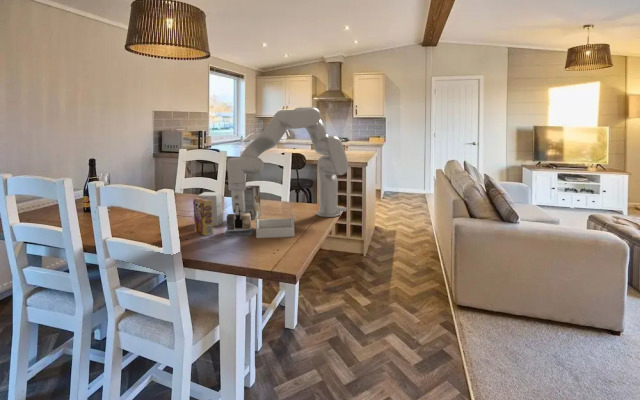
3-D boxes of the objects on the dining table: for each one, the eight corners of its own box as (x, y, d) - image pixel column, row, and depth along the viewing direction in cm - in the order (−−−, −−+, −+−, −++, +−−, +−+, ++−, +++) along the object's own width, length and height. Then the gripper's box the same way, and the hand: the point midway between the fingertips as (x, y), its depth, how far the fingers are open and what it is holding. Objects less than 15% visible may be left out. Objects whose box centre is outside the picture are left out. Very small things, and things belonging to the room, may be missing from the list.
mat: (253, 228, 178) (253, 227, 178) (252, 235, 168) (252, 234, 168) (226, 229, 176) (226, 228, 176) (224, 236, 167) (224, 235, 167)
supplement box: (199, 226, 183) (197, 195, 180) (205, 221, 192) (203, 191, 188) (218, 226, 182) (216, 195, 179) (223, 221, 191) (222, 191, 188)
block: (250, 226, 175) (250, 213, 174) (250, 229, 170) (249, 215, 169) (228, 226, 174) (227, 214, 172) (227, 230, 169) (226, 216, 168)
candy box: (213, 234, 170) (211, 200, 167) (205, 236, 167) (202, 201, 164) (203, 230, 176) (201, 197, 173) (194, 232, 173) (192, 199, 170)
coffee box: (249, 214, 204) (248, 185, 201) (261, 215, 203) (260, 185, 199) (242, 219, 195) (241, 188, 192) (254, 219, 194) (253, 188, 191)
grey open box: (292, 226, 182) (291, 209, 180) (294, 236, 166) (294, 218, 164) (257, 227, 180) (257, 211, 178) (256, 237, 164) (255, 219, 162)
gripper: (244, 189, 160) (246, 231, 164) (247, 182, 177) (248, 221, 180) (226, 190, 159) (228, 232, 163) (230, 183, 176) (232, 221, 179)
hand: (239, 225), depth 172 cm, fingers closed on block, 5 cm apart
